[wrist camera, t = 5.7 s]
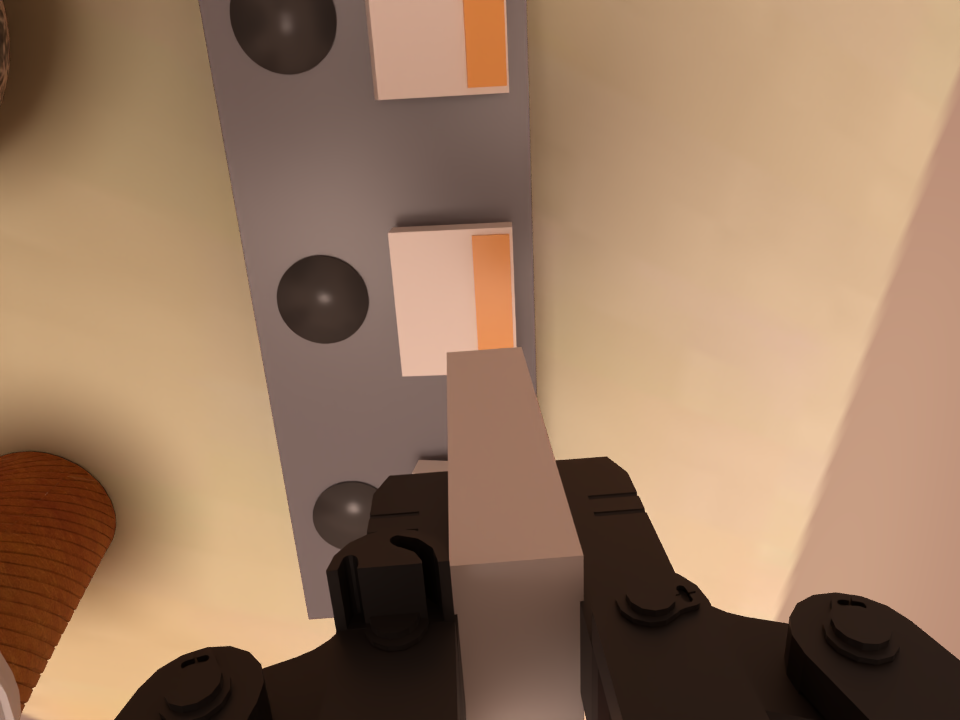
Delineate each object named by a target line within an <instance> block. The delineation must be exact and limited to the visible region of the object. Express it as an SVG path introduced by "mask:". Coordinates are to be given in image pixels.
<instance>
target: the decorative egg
mask: <svg viewBox="0 0 960 720" xmlns="http://www.w3.org/2000/svg"><path fill="white" fill-rule="evenodd" d="M9 66H10V44H9V28H8V23H7V16H6V11H5V7H4V3H3V0H0V106H1V103H2V100H3V97H4V93H5V88H6V84H7V80H8V73H9Z"/></svg>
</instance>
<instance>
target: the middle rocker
mask: <svg viewBox="0 0 960 720" xmlns="http://www.w3.org/2000/svg"><path fill="white" fill-rule="evenodd" d="M388 240H389V250H390V260H391V269H392V279H393V289H394V299H395V309H396V319H397V329H398V339H399V348H400V358H401V368H402V377H403V376H432V375H447V352H459V351H473V350H486V349H500V348H514V347H517V346H516V318H515V291H514V263H513V235H512V222H497V223H476V224H454V225H433V226H412V227H393V228H392V229H391V230H390V231H389V232H388Z"/></svg>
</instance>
